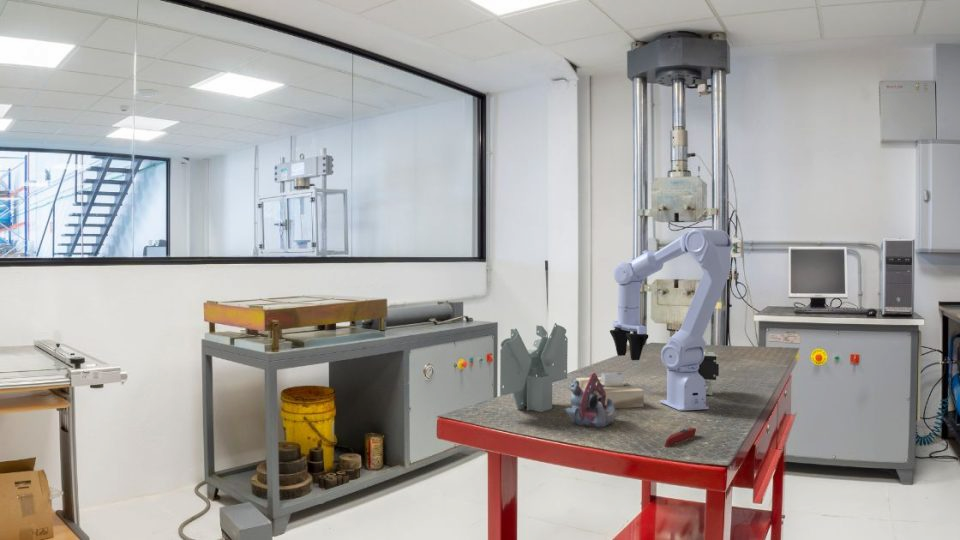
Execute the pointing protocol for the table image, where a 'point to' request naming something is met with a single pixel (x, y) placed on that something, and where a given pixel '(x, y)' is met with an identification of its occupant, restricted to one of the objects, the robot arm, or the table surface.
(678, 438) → the utility knife
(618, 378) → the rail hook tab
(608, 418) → the grey red figurine
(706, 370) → the pneumatic valve
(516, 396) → the bracket
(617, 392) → the light wood flat block
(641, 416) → the table surface
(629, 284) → the robot arm
